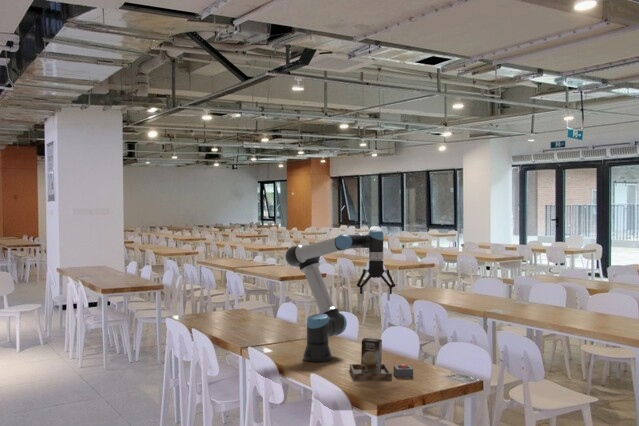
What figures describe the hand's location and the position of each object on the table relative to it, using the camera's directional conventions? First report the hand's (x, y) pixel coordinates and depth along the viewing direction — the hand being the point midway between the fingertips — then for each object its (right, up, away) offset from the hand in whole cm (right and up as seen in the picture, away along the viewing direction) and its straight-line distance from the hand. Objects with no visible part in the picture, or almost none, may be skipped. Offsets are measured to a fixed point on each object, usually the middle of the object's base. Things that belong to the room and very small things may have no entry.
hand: (375, 300), depth 310 cm
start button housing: (+11, -33, -25) cm, 42 cm away
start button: (+11, -31, -25) cm, 41 cm away
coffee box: (-4, -32, -24) cm, 40 cm away
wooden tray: (-5, -33, -24) cm, 41 cm away
